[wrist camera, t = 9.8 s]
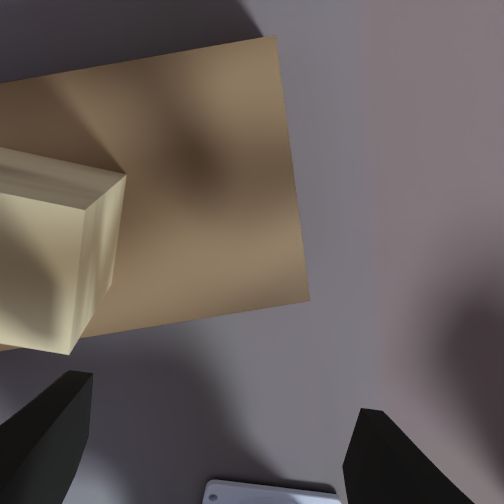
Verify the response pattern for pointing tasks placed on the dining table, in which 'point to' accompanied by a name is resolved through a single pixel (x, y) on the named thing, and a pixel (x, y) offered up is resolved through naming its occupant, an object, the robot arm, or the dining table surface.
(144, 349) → the dining table surface
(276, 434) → the dining table surface
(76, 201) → the birch cube
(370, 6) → the dining table surface
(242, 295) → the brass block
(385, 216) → the dining table surface
